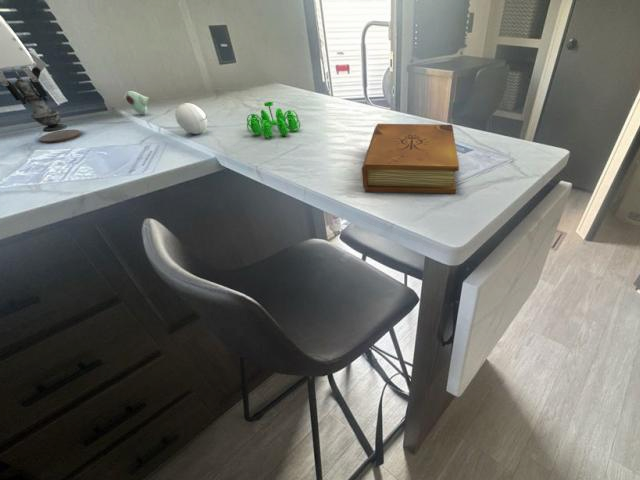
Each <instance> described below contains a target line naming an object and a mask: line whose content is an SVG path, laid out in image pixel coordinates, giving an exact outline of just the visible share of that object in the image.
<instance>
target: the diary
mask: <svg viewBox="0 0 640 480" xmlns="http://www.w3.org/2000/svg"><path fill="white" fill-rule="evenodd" d="M455 140H456V139H455V133H454V127H453V124H437V123H436V124H432V123H431V124H427V123H424V124H423V123H416V124H415V123H377V124H376V126H375V127H374V129H373V133H372V136H371V139H370V142H369V145H368V148H367V151H366V154H365V157H364V161H363V164H362V166H361V177H362V187H363V189H364V190H365V191H366V192H367V193H368V192H369V193H370V192H371V193H372V192H373V193H407V194H408V193H411V194H418V193H419V194H453V195H454V194H456V193H457V188H456V180H455V175H456V173H455V172H459V169H460V165H459V159H458V151H457V146H456V141H455Z"/></svg>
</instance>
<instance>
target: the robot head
mask: <svg viewBox="0 0 640 480" xmlns="http://www.w3.org/2000/svg"><path fill="white" fill-rule="evenodd" d="M149 98H150V97H148V96H145V95H142V94H140V93H139V92H136V91H134V90H128V91H126V92H125V95H124V96H123V100H124V101H125V102H126V103H127V104H128V105H129V107H131V109H133V111H135V113H137V114H139V115H142V116H145V115H146V114H147V113H148V108H147V104H148V102H149Z"/></svg>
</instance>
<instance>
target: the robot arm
mask: <svg viewBox="0 0 640 480" xmlns="http://www.w3.org/2000/svg"><path fill="white" fill-rule="evenodd" d="M33 64H34V66H33ZM30 66H33V67H32V68H31V69H30ZM46 67H47V63H46V62H45V61H44V60H42V59H40V58H39V57H38V56H37V55H35V54H34V53H32V52H31V51H29V50H28V49H27V48H26V46H25V45H24V43H23V42H22V41H21V40H20V38H19V37H18V35H17V34H16V33H15V31H14V30H13V29H12V27H11V26H10V25H9V23H7V21H6V20H5V18H4V17H3V16H2V15H0V84H1V85H2V86H4V87H6V89H7V90H8V92H10V93H9V94H11V95H12V96H13V98H14V99H15V101H20V102H21V103H22V104H23V105H27V101H26V100H24V99H23V98H24V96H23V95H22V94H21V92H20V91H19V90H18V88H17V87H16V86H15V84H13V83H12V82H11V81H10V80H8V79H7V77H6V76H5V74H4V72H3V71H2V70H9V69H10V70H11V69H18V68H19V69H21V70H22V71H23V72H24V74H26V75H27V76H28V77H29V81H30V84H31V85H32V87H33V88H34V90H35V91H36V92H37V94H38V95H40V96H41V99H42V100H43V101H44V102H46V101H47V102H48V98H47V97H48V96H49V95H48V93H47V92H46V90H45V89H44V87H43V86H42V84H40V82H39V79H40V75H41V73H42V71H43V70H44V69H45V68H46Z"/></svg>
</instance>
